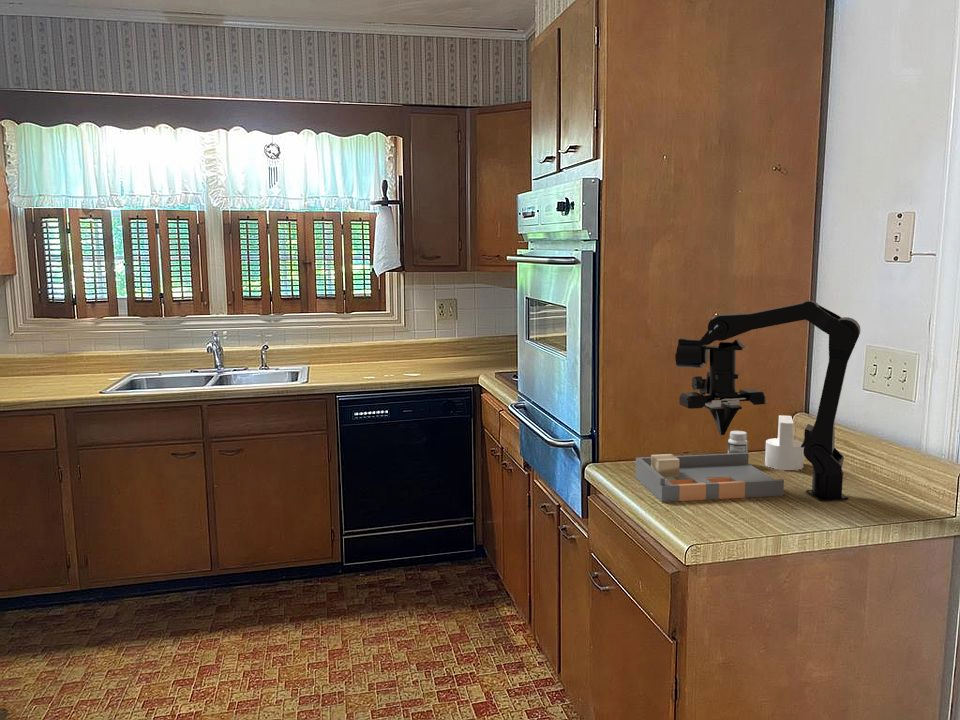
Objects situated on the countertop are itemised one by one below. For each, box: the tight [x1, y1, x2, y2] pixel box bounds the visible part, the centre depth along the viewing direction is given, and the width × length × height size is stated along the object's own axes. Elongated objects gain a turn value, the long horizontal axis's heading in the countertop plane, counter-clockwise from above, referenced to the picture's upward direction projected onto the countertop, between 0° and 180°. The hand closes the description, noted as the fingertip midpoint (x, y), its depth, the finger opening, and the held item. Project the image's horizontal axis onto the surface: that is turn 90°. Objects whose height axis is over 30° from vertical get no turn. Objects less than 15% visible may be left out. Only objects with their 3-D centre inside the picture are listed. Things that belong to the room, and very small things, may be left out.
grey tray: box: [635, 452, 785, 503], centre depth 174 cm, size 18×28×5 cm, turn 97°
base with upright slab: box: [764, 414, 805, 471], centre depth 189 cm, size 9×9×12 cm
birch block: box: [650, 453, 680, 477], centre depth 176 cm, size 5×5×4 cm
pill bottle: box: [727, 430, 749, 453], centre depth 191 cm, size 5×5×8 cm
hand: (721, 434), depth 175 cm, fingers closed
